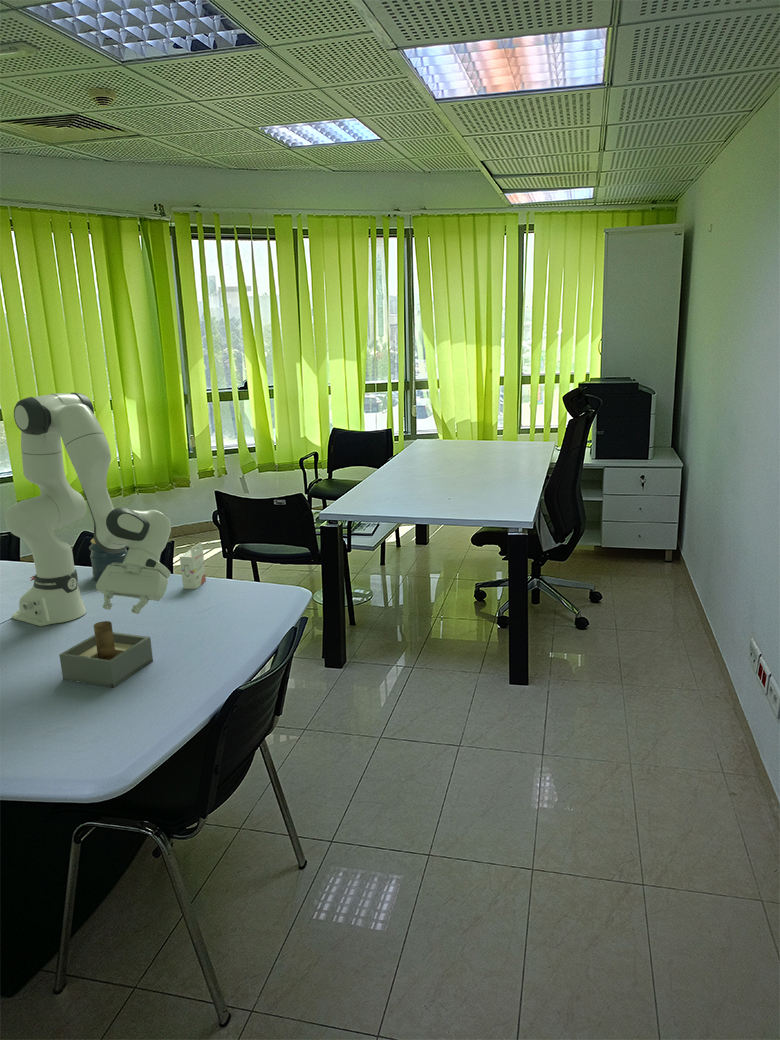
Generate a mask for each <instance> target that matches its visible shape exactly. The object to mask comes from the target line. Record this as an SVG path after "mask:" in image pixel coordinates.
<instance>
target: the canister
mask: <svg viewBox="0 0 780 1040" xmlns="http://www.w3.org/2000/svg"><path fill="white" fill-rule="evenodd" d="M90 543H91V545H90V546H89V547H88V549H89V551H91V552H90V555H89V557H90V562H91V568H92V577H93V579H94V580H95V581H96V582H98V580H99V578H100V576H101V575H102V573H103V571H104V570H105V569H106V567H107V566H108V565H109V564H112V563H113V562H117V563H123V562H124V559H125V557H126V555H127V552H128V550H127V548H126V549H125V550H124V551H122V552H120V553H115V554H112V553H107V552H104V551H103V550H101V549H100V548H99V547H98V546H97V545H96V543H95V540H94V537H93V538H92V539H91V540H90Z"/></svg>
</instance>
